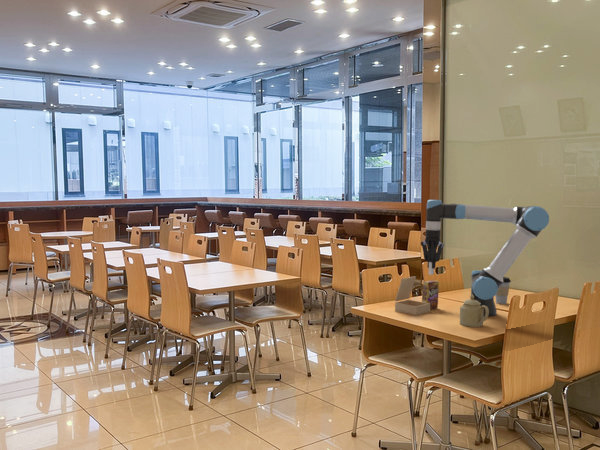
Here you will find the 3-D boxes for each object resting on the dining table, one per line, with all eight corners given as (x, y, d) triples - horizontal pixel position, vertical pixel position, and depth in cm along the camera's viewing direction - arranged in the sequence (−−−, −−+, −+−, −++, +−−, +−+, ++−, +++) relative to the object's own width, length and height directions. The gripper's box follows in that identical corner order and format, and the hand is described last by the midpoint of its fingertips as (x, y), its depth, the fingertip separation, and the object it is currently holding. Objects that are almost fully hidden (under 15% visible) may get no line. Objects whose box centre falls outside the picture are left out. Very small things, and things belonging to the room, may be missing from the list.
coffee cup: (492, 303, 331) (493, 278, 330) (493, 301, 340) (494, 276, 339) (509, 305, 327) (510, 279, 326) (510, 302, 336) (511, 277, 335)
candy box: (426, 310, 309) (427, 282, 308) (421, 308, 313) (422, 281, 312) (438, 308, 314) (439, 281, 313) (432, 307, 318) (433, 280, 317)
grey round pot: (493, 325, 276) (495, 294, 276) (487, 329, 267) (488, 298, 266) (463, 320, 285) (465, 291, 284) (456, 324, 276) (457, 294, 275)
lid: (416, 276, 310) (415, 276, 311) (402, 278, 301) (401, 278, 301) (409, 298, 314) (408, 298, 314) (395, 301, 305) (394, 301, 305)
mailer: (429, 311, 305) (430, 303, 305) (416, 315, 296) (416, 306, 295) (408, 307, 314) (408, 299, 314) (394, 310, 305) (395, 302, 305)
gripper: (448, 230, 293) (445, 275, 294) (426, 228, 302) (424, 272, 303) (440, 230, 287) (438, 276, 289) (418, 228, 296) (416, 273, 298)
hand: (431, 274), depth 296 cm, fingers closed
